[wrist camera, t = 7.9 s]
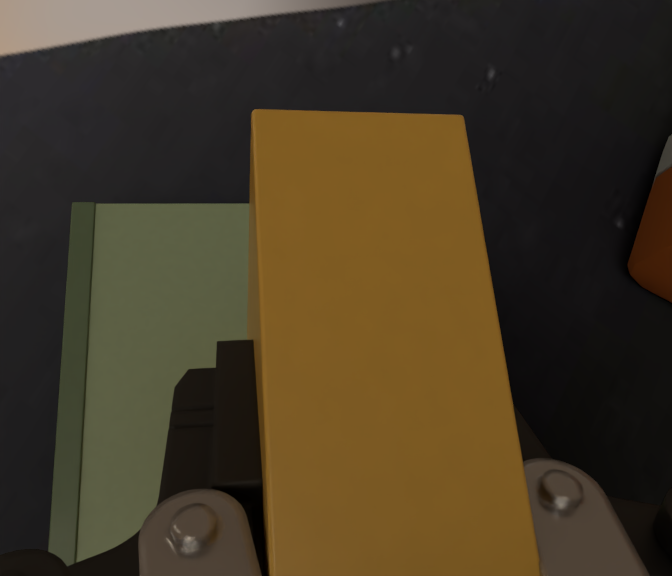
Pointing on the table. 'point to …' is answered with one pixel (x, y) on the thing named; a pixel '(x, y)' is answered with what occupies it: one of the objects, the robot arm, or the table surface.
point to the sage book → (135, 354)
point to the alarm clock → (656, 234)
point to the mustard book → (379, 353)
